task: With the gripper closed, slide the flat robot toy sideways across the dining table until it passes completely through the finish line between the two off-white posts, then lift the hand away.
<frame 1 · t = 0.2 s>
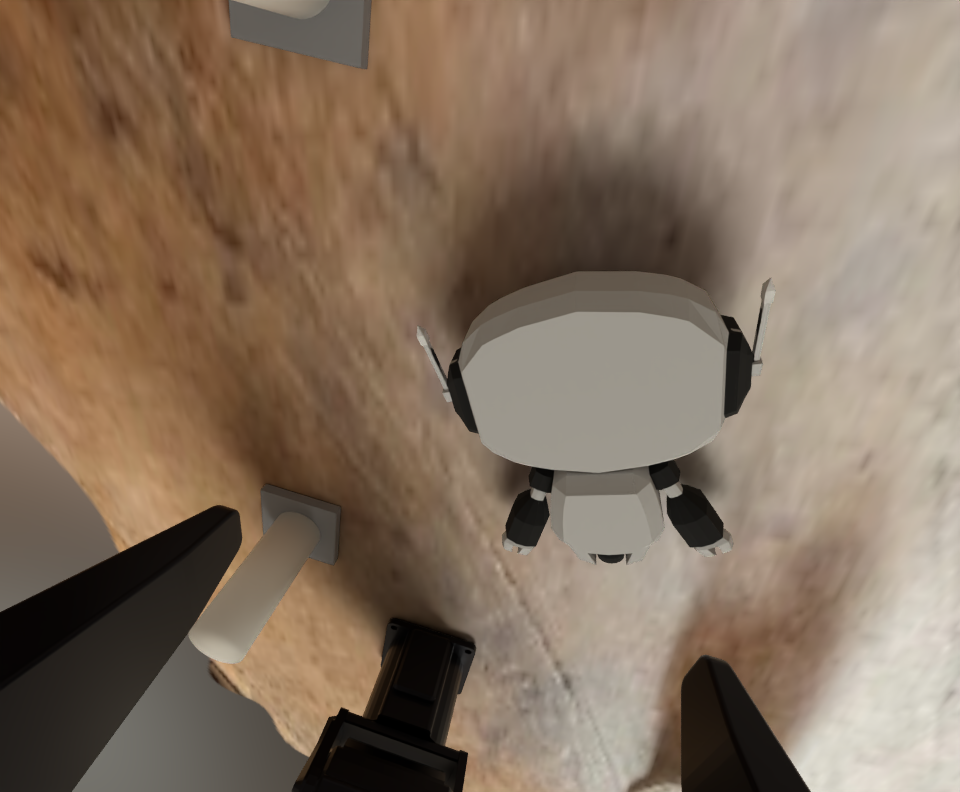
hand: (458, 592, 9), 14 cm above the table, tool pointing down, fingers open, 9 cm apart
robot toy: (597, 409, 24), on the table
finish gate: (303, 330, 24), on the table
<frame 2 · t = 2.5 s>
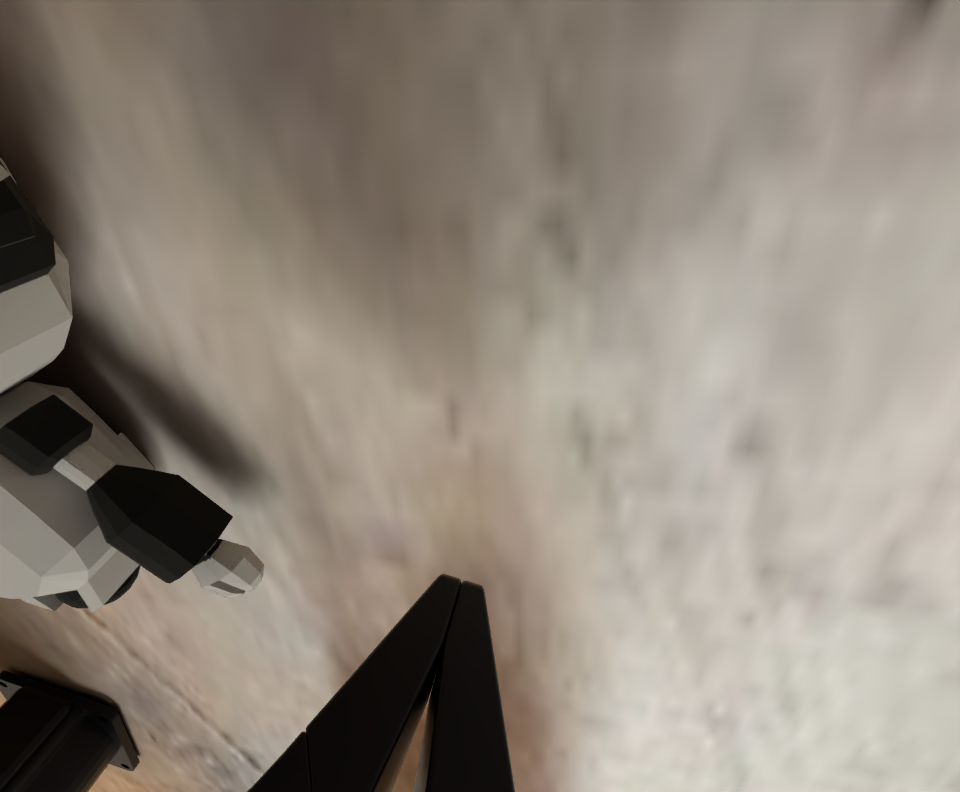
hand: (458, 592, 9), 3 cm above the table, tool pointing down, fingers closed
robot toy: (30, 335, 13), on the table
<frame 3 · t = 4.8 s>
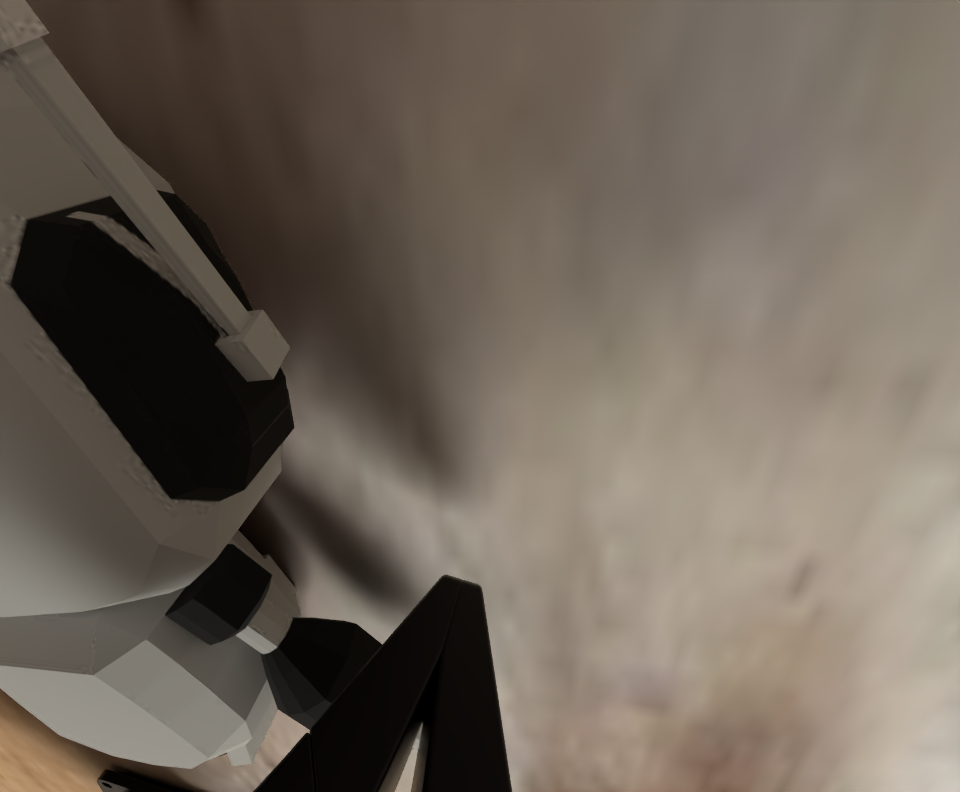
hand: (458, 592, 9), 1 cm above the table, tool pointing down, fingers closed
robot toy: (170, 445, 11), on the table, touching gripper
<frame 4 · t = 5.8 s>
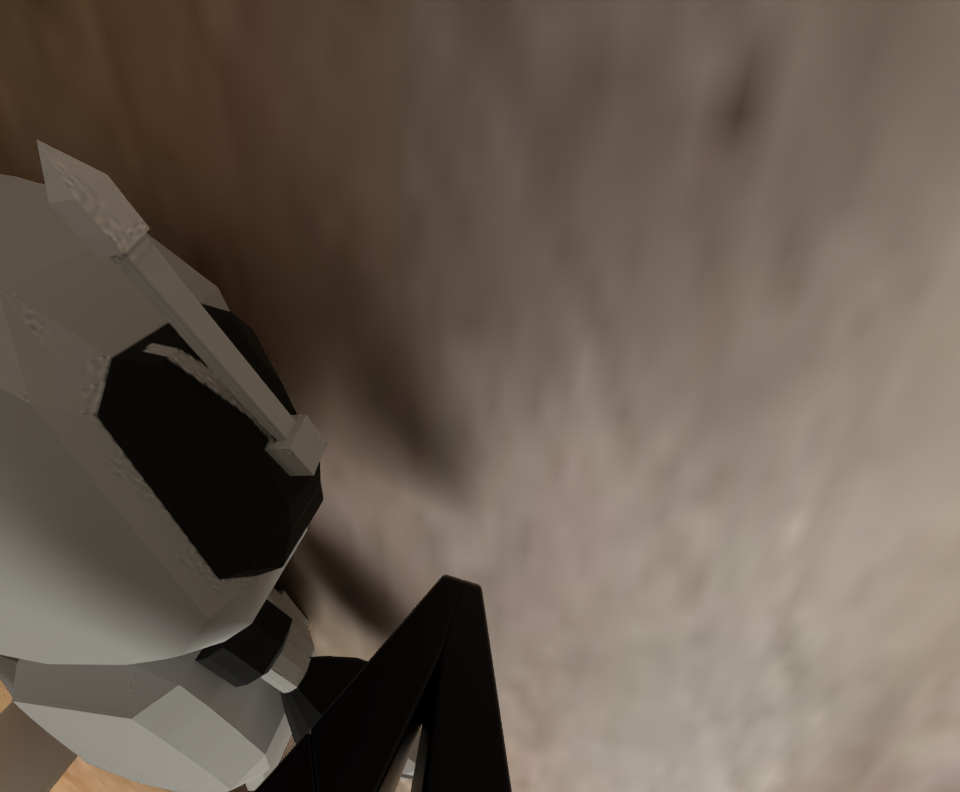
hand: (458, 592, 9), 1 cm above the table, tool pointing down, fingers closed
robot toy: (194, 488, 12), on the table, touching gripper
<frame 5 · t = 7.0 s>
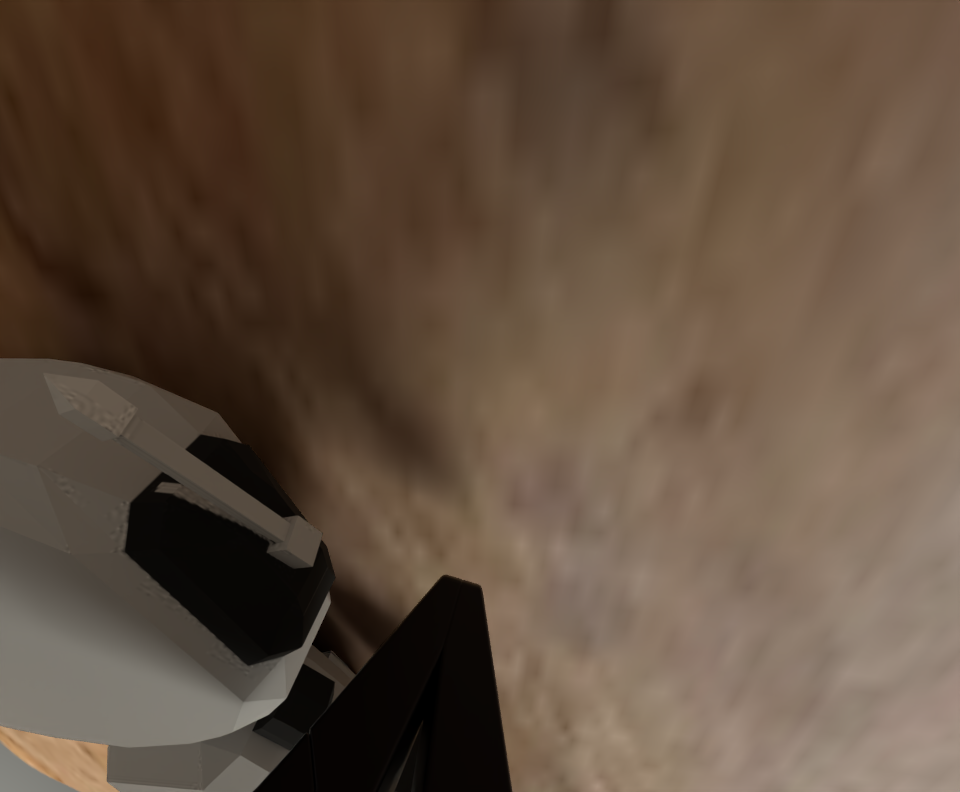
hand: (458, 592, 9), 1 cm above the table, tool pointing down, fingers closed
robot toy: (239, 569, 13), on the table, touching gripper
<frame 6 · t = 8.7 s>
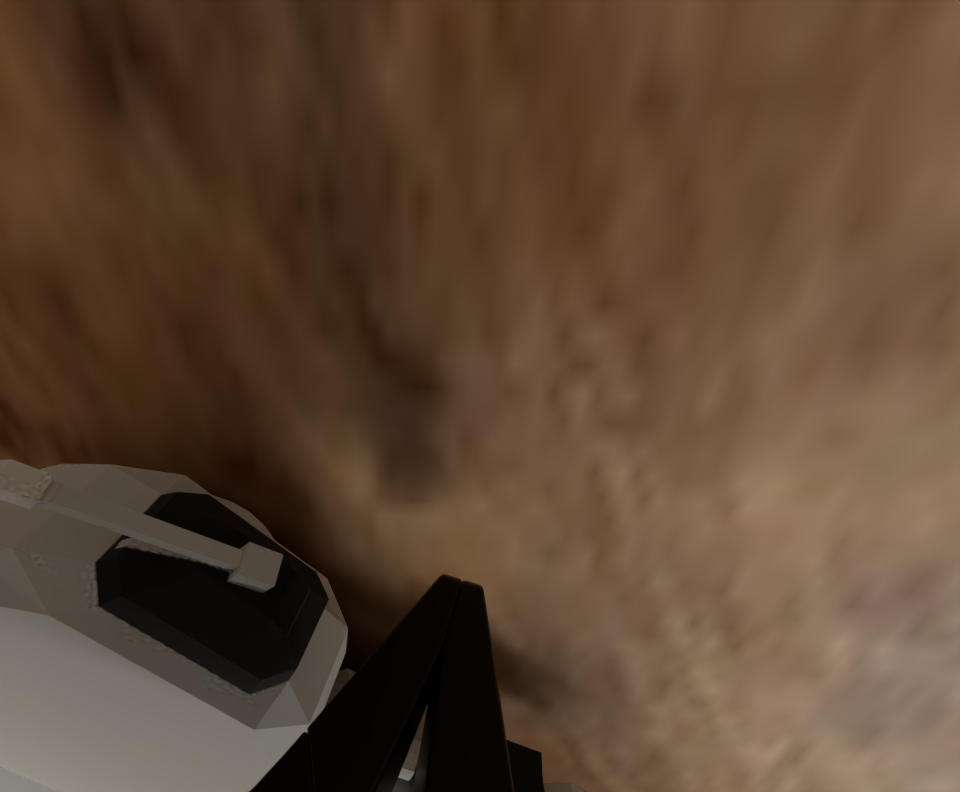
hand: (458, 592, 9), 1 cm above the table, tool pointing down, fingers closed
robot toy: (297, 624, 14), on the table, touching gripper
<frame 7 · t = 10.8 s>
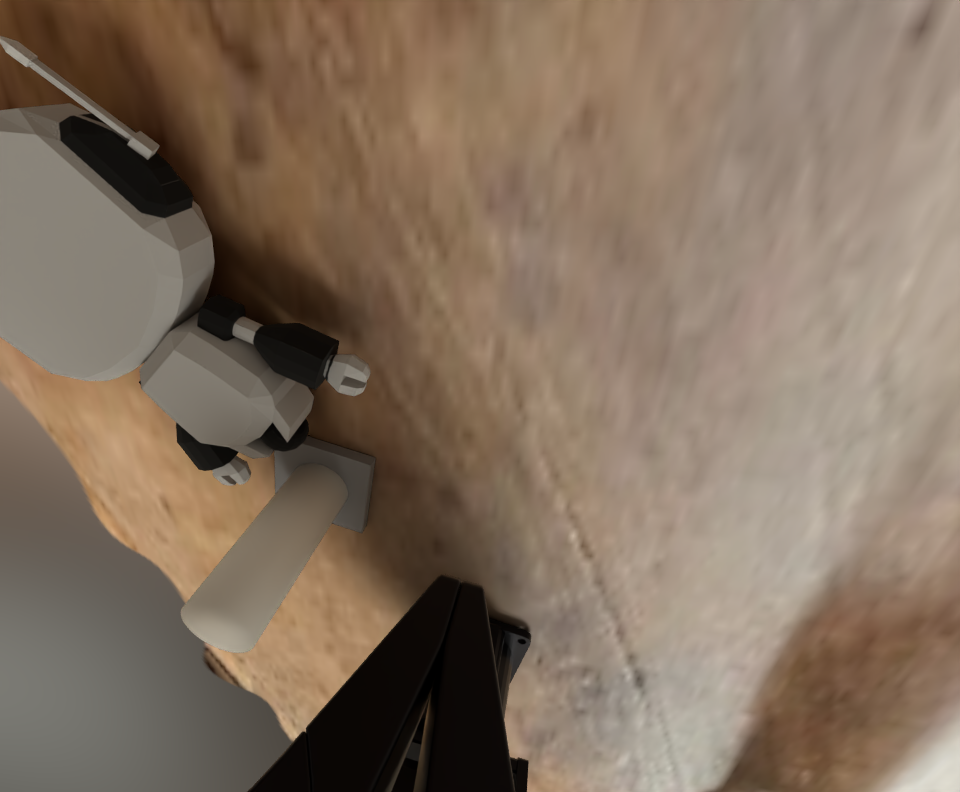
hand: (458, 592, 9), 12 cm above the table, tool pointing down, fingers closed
robot toy: (202, 298, 22), on the table
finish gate: (341, 204, 18), on the table
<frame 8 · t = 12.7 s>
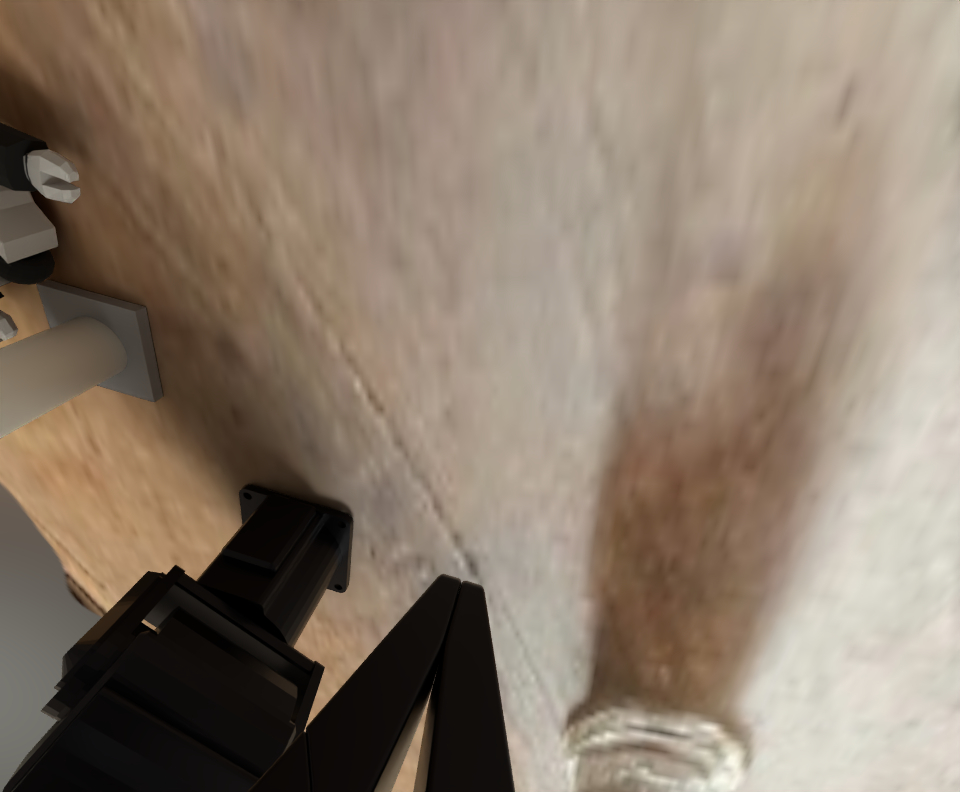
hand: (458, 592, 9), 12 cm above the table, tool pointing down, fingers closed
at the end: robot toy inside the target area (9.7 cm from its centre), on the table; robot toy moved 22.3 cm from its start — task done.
